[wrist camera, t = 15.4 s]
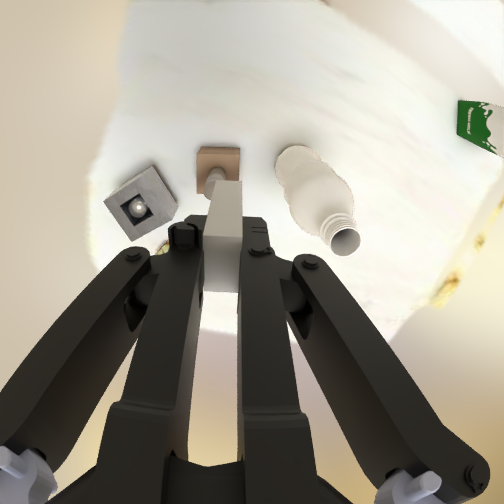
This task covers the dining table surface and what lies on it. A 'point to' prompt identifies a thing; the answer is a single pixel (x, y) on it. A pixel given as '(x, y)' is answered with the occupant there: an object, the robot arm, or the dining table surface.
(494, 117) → the milk carton
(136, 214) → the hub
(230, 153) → the stand
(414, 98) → the dining table surface
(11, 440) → the robot arm
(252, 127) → the dining table surface
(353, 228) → the water bottle
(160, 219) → the square steel tube
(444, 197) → the dining table surface
